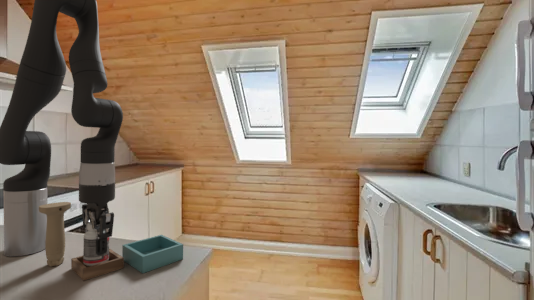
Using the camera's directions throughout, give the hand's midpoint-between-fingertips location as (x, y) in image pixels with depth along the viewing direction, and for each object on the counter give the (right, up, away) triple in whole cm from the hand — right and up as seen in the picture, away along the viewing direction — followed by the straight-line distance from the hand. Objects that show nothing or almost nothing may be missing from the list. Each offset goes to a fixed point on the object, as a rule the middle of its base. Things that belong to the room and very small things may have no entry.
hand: (96, 249), depth 68 cm
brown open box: (0, -5, 0) cm, 5 cm away
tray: (+11, -5, +6) cm, 14 cm away
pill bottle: (0, -3, 0) cm, 3 cm away
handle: (-11, -4, +2) cm, 12 cm away
